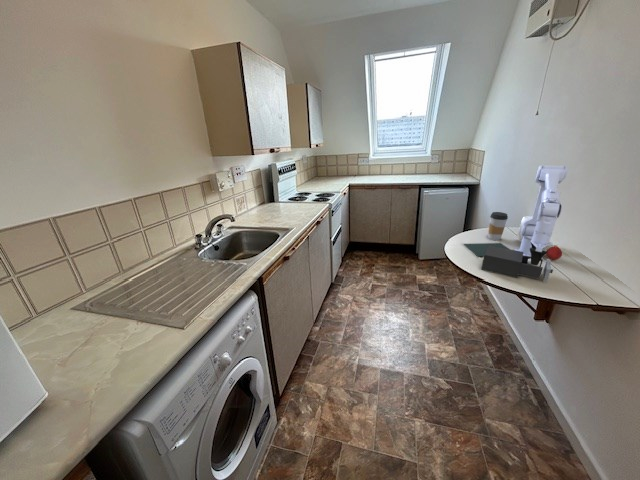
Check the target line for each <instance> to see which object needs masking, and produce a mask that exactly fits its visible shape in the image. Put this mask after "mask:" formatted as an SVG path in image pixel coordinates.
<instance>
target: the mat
mask: <svg viewBox="0 0 640 480" xmlns="http://www.w3.org/2000/svg"><path fill="white" fill-rule="evenodd" d="M463 246H465V247H466V248H467V249H468V250H470V251H471V252H472V253H473V254H474V255H475V256H477V257H478V258H484V255H485V253H486V251H487V249H488V247H489V246H494V247H500V248H505V249H510V248H509V247H507V246H506V245H504V244H502V243H501V242H494V243H493V242H491V243H489V242H488V243H487V242H486V243H485V242H484V243H463Z"/></svg>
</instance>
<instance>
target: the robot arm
mask: <svg viewBox="0 0 640 480" xmlns="http://www.w3.org/2000/svg"><path fill="white" fill-rule="evenodd" d="M568 170H569V168H568V166H567V165H542V164H541V165H538V167H537V172H536V175H535V179H534V180H535V183H536V184H539V189H538V192H537V197H536V201H535V204H534V207H533V212H532V217H531V218H529V219H526V220H525V221H524V223H523V225H522V229H521V235H523V239H522V242H520V247H519V248H517V249H516V248H515V249H514V250H516V251H521V252H523V255H524V256H530V257H531V264H532V265H538V263H539V262H540V260H541V259H543V258H544V257H545V256H546V254H547V250H546V248H547V247H548V246H551V247H553V244H554V243H553V242H552V241H550V240H551V238H552V235H553V231H554V229H555V226H556V222H557V219H558V218H559V217H560V215H561V214H562V210H563V203H562V201H561V192H560V190H559V189H558V186H559V185H560V184H561V183H562V182H563V181H564V180H565V179H566V178H567V174H568ZM534 224H536V225H534Z"/></svg>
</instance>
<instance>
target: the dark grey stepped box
mask: <svg viewBox="0 0 640 480" xmlns="http://www.w3.org/2000/svg"><path fill="white" fill-rule="evenodd" d="M522 258H523V252H521V251H516V250H515V249H510V248H509V249H505V248H500V247H494V246H489V247H488V249H487V251H486V253H485V255H484V257H483V259H482V265H481V270H482V271H486V272H490V273H494V274H498V275H503V276H506V277H511V278H515V279H518V277H519V270H520V267H521V263H522Z"/></svg>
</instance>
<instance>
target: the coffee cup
mask: <svg viewBox="0 0 640 480" xmlns="http://www.w3.org/2000/svg"><path fill="white" fill-rule="evenodd" d="M489 217H490V218H489V223H488V230H487V232H488V234H487V238H488V239H489V240H492V241H500V240H501V239H502V235H503V234H504V230H505V227H506V223H507V221H508V218H509V216H508V213H506V212H502V211H493V212H492V213H490V216H489Z"/></svg>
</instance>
